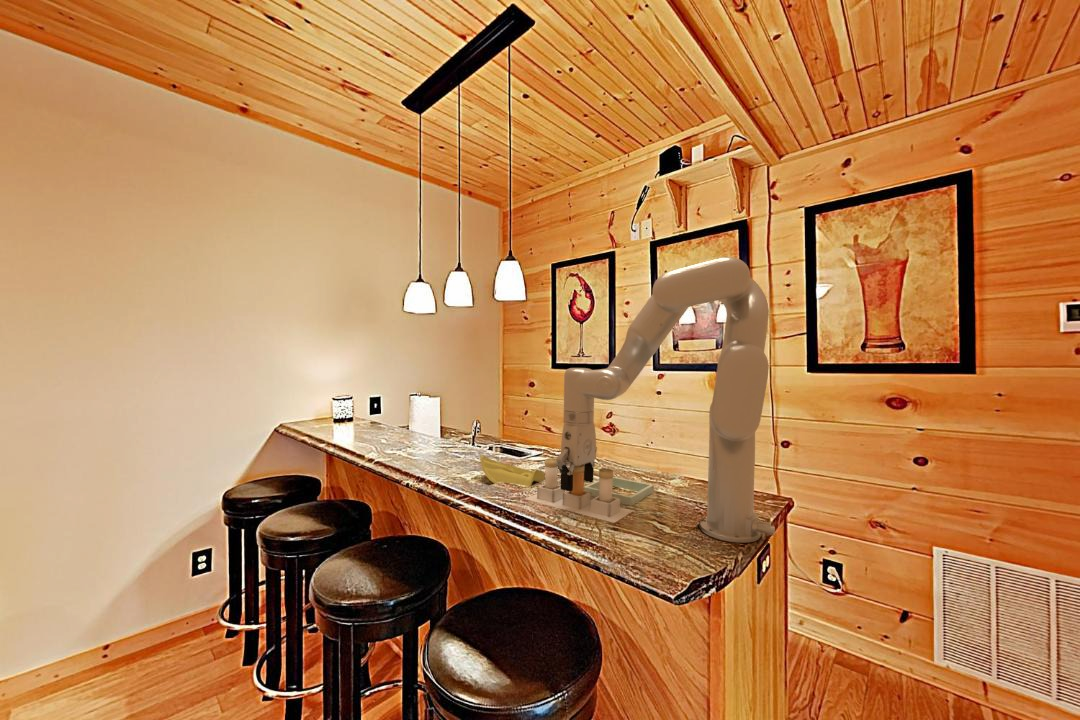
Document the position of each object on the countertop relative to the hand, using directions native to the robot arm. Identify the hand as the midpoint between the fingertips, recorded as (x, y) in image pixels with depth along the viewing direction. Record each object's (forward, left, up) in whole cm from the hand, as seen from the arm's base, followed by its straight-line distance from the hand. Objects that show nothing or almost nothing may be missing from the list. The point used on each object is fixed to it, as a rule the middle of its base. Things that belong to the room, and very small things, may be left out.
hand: (577, 485), depth 116 cm
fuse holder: (0, 0, -6) cm, 6 cm away
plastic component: (+28, -8, -7) cm, 30 cm away
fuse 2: (-8, 0, -5) cm, 9 cm away
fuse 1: (+8, 0, -5) cm, 9 cm away
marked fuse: (0, 0, -5) cm, 5 cm away
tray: (-4, -15, -6) cm, 17 cm away
